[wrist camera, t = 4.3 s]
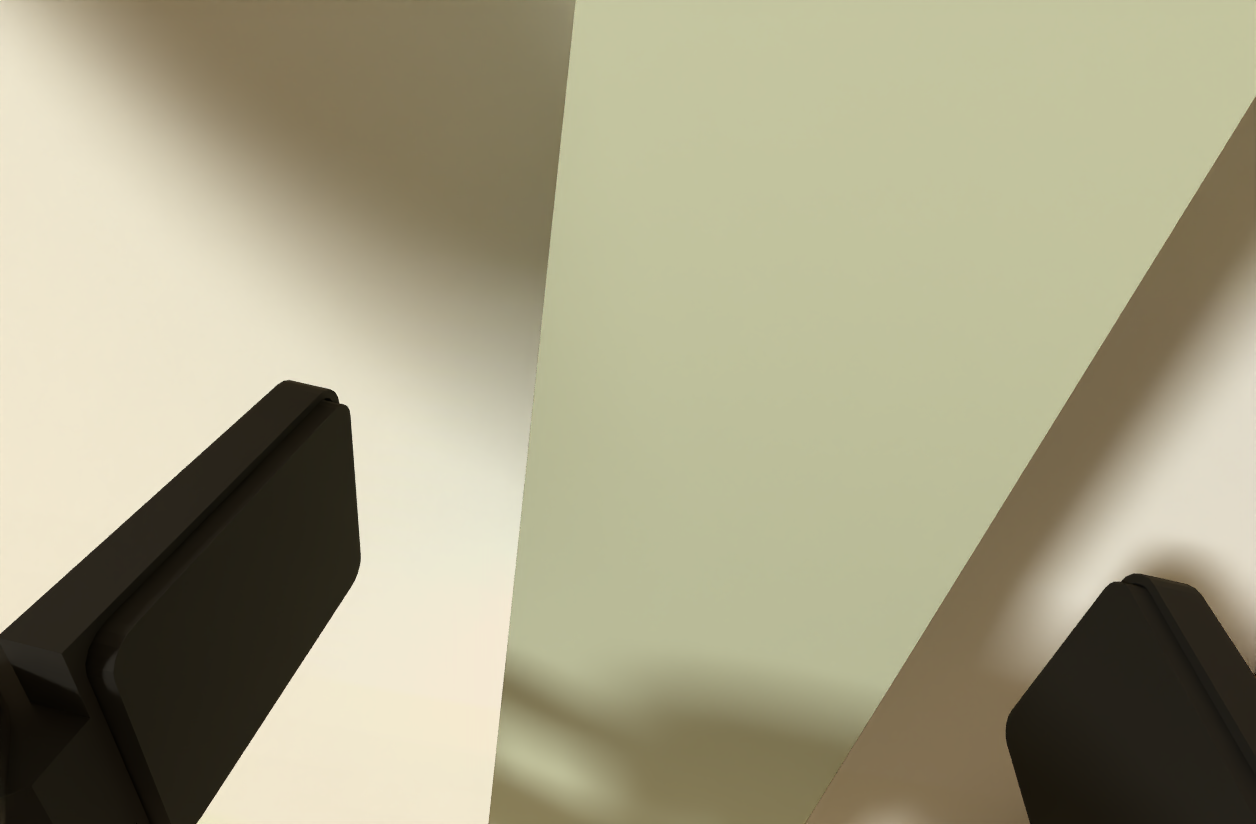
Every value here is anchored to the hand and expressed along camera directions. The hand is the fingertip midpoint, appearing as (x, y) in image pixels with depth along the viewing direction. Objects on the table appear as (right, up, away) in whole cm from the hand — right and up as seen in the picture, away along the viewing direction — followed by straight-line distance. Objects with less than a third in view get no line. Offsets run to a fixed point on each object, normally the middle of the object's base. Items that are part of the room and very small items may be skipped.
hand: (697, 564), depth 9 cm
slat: (+1, +2, +3) cm, 3 cm away
